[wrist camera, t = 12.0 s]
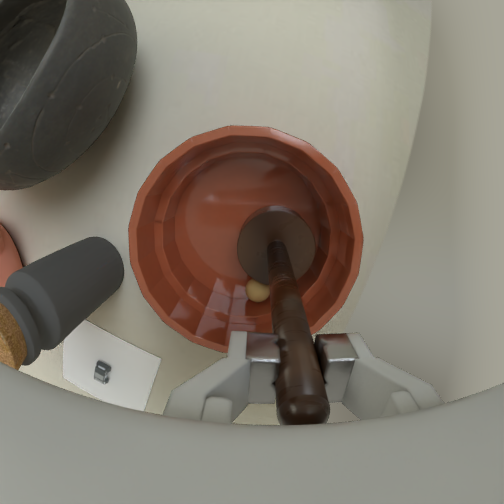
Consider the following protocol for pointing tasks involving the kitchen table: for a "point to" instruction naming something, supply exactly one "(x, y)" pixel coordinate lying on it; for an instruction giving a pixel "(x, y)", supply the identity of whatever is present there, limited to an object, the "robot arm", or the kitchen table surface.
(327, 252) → the mixing bowl
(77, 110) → the bowl
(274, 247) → the wooden plunger
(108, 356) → the white flat square slab
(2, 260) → the teapot
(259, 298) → the dough ball
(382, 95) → the kitchen table surface
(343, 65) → the kitchen table surface
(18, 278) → the bottle
